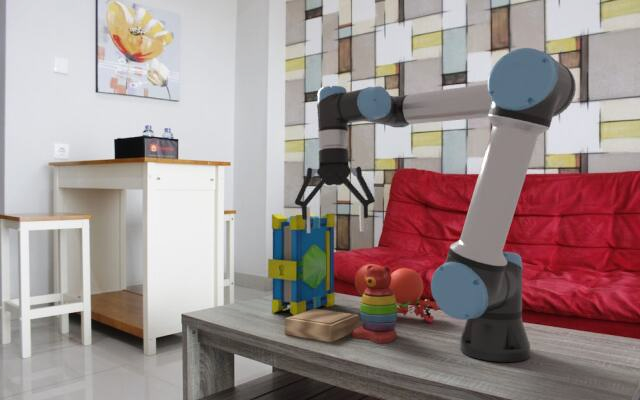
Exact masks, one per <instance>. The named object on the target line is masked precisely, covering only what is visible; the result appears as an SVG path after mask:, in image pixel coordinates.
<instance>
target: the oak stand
mask: <svg viewBox="0 0 640 400" xmlns="http://www.w3.org/2000/svg"><path fill="white" fill-rule="evenodd" d="M359 327H360V316H359V314H355V313H350V312H349V313H348V312H343V311H342V312H341V311H333V310H328V309H320V308H315V309H308V310H306V312H303V313H300V314H297V315H292V316H288V317H285V318H284V335H288V336H294V337H298V338H304V339H311V340H316V341H320V342H326V343H333V342H335V341H337V340H340V339H342V338H344V337H347V336H349V335H352V332H353V330H355V329H356V328H359Z"/></svg>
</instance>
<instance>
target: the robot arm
mask: <svg viewBox="0 0 640 400" xmlns="http://www.w3.org/2000/svg"><path fill="white" fill-rule="evenodd" d="M576 86H577V85H576V80H575V77H574V75H573V73H572V71H571V70H570V68H568V67H567V66H566V65H564V64H562V63H561V62H559V61H557V60H556V59H555V58H554V57H552V55H550V54H549V53H547V52H545V51H543V50H539V49H537V48H532V47H522V48H516V49H513V50H511V51H509V52H508V53H506V54H505V55H503V56H501V57H500V58H499V59H498V60H497V61H496V62H495V63H494V65H493V66H492V68H491V70H490V71H489V74H488V78H487V83H484V84H483V83H482V84H477V85H470V86H461V87H454V88H447V89H439V90H433V91H427V92H418V93H412V94H410V93H409V94H404V95H390V93H389V91H387V90H386V88H385V87H383V86H379V85H378V86H367V87H365V88H362V89H357V90H353V91H349V92H348V91H347V88H346V87H344V86H340V85H329V86H327V85H326V86H323V87H320V89H319V90H318V91H317V103H316V108H317V123H318V124H317V125H318V129H317V132H318V148H319V151H318V168H312V167H308V168H307V169H306V176H305V179H304V181H303V183H302V185H301V187H300V190H299V191H298V193H297V194H298V195H296V196H297V197H296V198H295V201H294V204H295V205H297V206H300V207H301V215H302V218H303V220H307V233H310V213H311V212H310V211H311V207H310V206H308V204H309V203H311V201H312V199H314V197H315V196H316V195H317V194H318V192H319V191H320V190H321V188H322V187H323V186H324V185H327V186H333V185H335V186H341V185H344V186H345V187H346V188H347V189H348V190H349V192H351V194H353V196H355V198H356V199H357V200H358V202H360V203H361V205H359V206H358V210H359V211H358V213H359V215H358V216H359V232H361V233H362V232H365V219H368V217H369V205H371V204H373V203H376V202H375V201H376V199H375V197H374V195H373V194H372V192H371V189H370V188H369V185H368V184H367V182H366V180H365V178H364V176H363V173H362V167H360V166H357V167H353V168H350V165H349V150H348V149H347V147H349V134H348V132H349V131H348V130H349V129H348V126H349V125H348V124H351V123H358V122H369V123H374V124H379V125H384V126H389V127H392V128H406V127H408V126H409V125H417V124H428V123H437V122H438V123H439V122H449V121H450V122H451V121H460V120H461V121H462V120H472V119H483V118H488V120H489V121H490V123H491V127H492V128H491V131H490V134H489V138H488V141H487V145H486V147H485V153H484V156H483V159H482V162H481V166H480V169H479V173H478V177H477V180H476V183H475V186H474V189H473V193H472V197H471V200H470V203H469V207H468V211H467V214H466V217H465V220H464V223H463V224H464V225H463V228H462V232H461V235H460V238H459V240H457V241H455V242H453V243H451V244H450V246H449V249H448V251H447V254H446V255H447V256H446V260H445V262H444V263H443V264H442V265H440V266H438V268H437V269H436V270H435V271H434V272H433V274H432V277H431V280H430V290H431V291H430V292H431V295H432V297H433V299H434V302H436V303H437V305H438V307H439V310H440V311H442V313H444V314H446V316H449V317H451V318H453V319H456V320H460V321H461V320H466V322H465V325H464V327H463V331H462V334H461V336H460V340H459V350H460V352H461V353H462V354H464V355H466V356H469V357H471V358H475V359H477V360H478V359H479V360H482V361H490V362H499V363H501V362H502V363H512V362H515V363H516V362H520V361H525V360H527V359H529V358H530V357H531V344H530V341H529V337H528V335H527V331H526V329H525V326H524V322H523V270H524V268H523V263H522V262H523V261H522V256H521V255H520V254H518V253H516V252H510V251H503V250H504V248H505V244H506V240H507V239H508V238H507V237H508V235H509V231H510V227H511V226H512V225H511V224H512V222H513V218H514V215H515V213H516V208H517V206H518V205H517V204H518V202H519V198H520V195H521V191H522V189H523V186H524V184H525V183H524V182H525V179H526V177H527V176H526V175H527V173H528V170H529V166H530V163H531V160H532V157H533V153H534V150H535V146H536V144H537V141H538V137H540V135H541V134H544V133H545V132H547V131H549V129H550V127H551V124H552V121H553V118H554V117H557V116H558V115H560V114H562V113H563V112H564V111H566V110H567V109H568V108H569V107H570V105H571V103H572V102H573V100H574V98H575V95H576V90H577V87H576ZM316 174H317V175H318V177H320V181H319V182H318V183H317V184H316V185H315V186H314V188H313V189H312V190H311V192H310V193H309V194H308V196H307V197H306V198H305V200H303V201H302V199H303V196H304V195H305V192H306V191H307V189H308V188H307V187H308V186H309V183H310V182H311V180H312V179H311V178H314V177H315V175H316ZM350 174H352V175H353V176H354V177H355V178H356V180H357V181H358V183H359V185H360V188H361V189H362V191H363V193H364V195H365V196H366V198H365V197H364V196H363V195H362V193H361V192H360V191H359V190H358V189H357V188H356V187H355V186H354V184H353V183H352V182H351V181H350V180H349V179H348V177H349V175H350Z"/></svg>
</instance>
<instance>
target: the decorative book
mask: <svg viewBox="0 0 640 400" xmlns="http://www.w3.org/2000/svg"><path fill="white" fill-rule="evenodd" d="M335 217H336V214H335V213H334V212H333V213H332V212H331V213H326V214H325V215H323V216H321V217H320V216H319V215H315V214H314V213H312V212H310V233H307V220H303V218H302V214H296V215H290V216H289V217H288V218H287V217H286V216H285V215H283V214H281V213H277V214H276V213H274V214H271V229H272V258H271V259H269V258H268V259H267V278H270V279H272V299H271V313H272V314H275V313H279V312H282V311H284V310H286V309H288V306H289V312H290V314H292V316H294V315H297V314H300V313H303V312H306V311H309V310H312V309H319V308H320V307H321V306H324V307H326V308H328V307H332V306H335V303H336V301H335V300H336V297H335V296H336V295H335V294H336V293H335V227H336V225H335V223H336V221H335V220H336V219H335Z"/></svg>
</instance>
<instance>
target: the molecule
mask: <svg viewBox="0 0 640 400" xmlns="http://www.w3.org/2000/svg"><path fill="white" fill-rule="evenodd" d="M370 265H371V266H373V267H375V266H380V265H379V264H376V263H368V264H365V265H362V266H361V267H360V268H359V269H358V270H357V272H356V273H355V278H354V287H355V288H356V289H355V290H356V291H357V293H358V294H359V295H361V297H362V296H363V294H364V291H365V290H366V289H367V288H368V287H367V286H366V284H365V281H364V276H365V274H366V272H367V268H368V266H370ZM390 274H391V283H390V286H389V288H390V289H391V290H392V291H393V294H394V295H395V299H396V304H397V314H402V315H403V316H404V317H405V316H407V314H408V313H409V311H412V310H413V312H410V314H412V313H414V314H415V316H416V317H419V316H420V318H421V319H424V321H426V322H427V323H431V324H432V323H434V318H435V317H434V316H433V315H431V312H429V311H430V310H433V311H435V312H438V311H439V310H440V308H439V307H438V305H437V303H436V301H435V300H434V301H432V298H431V297H428V298H427V299H424V300H422V299H421V297H422V295H423V292H424V282H423V279H422V277H421V276H420V274H419V273H418V272H417V271H416V270H414V269H412V268H407V267H403V268H401V267H400V268H398V269H396V270H393V272H390ZM411 304H414V306H413V305H411ZM409 305H411V306H409ZM412 307H413V308H414V309H413V308H412Z"/></svg>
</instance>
